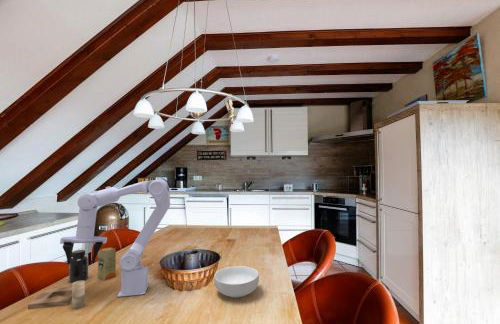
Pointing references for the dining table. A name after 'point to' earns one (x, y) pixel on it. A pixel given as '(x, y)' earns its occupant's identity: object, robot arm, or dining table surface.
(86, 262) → the supplement bottle
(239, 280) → the cereal bowl
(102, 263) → the shoe polish box
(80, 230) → the robot arm
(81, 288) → the peg
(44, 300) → the socket block
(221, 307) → the dining table surface
